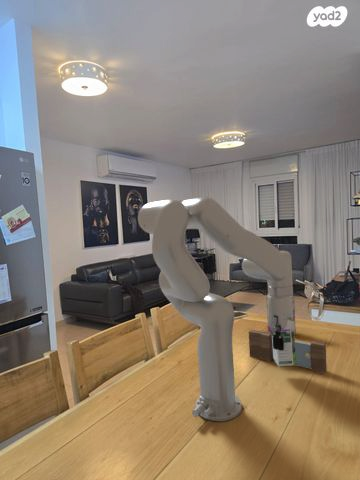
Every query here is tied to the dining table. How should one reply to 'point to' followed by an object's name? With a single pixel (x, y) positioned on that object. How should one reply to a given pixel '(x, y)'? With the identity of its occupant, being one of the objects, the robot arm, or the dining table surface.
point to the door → (303, 354)
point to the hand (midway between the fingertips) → (283, 343)
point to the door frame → (264, 350)
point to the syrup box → (286, 346)
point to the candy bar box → (293, 313)
